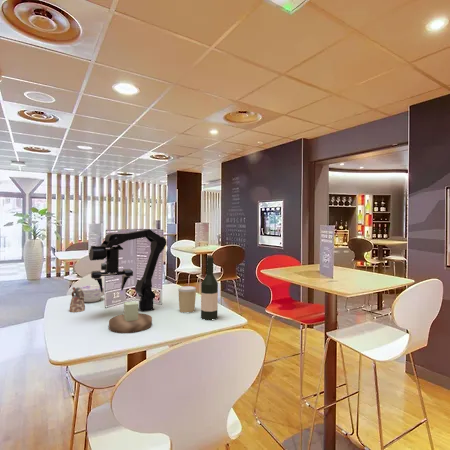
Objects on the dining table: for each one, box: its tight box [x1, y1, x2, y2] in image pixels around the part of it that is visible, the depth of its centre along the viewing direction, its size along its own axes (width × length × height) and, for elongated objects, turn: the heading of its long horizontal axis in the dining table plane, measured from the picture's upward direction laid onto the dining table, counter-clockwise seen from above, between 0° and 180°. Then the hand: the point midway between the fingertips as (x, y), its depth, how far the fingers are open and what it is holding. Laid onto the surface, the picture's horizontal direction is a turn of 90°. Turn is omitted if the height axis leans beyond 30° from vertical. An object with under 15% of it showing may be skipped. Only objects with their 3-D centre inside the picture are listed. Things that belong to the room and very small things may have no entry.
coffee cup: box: [177, 285, 197, 313], centre depth 158 cm, size 9×9×12 cm
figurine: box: [69, 286, 86, 313], centre depth 156 cm, size 7×7×12 cm
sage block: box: [123, 301, 139, 321], centre depth 133 cm, size 5×5×7 cm
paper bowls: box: [79, 284, 105, 303], centre depth 177 cm, size 15×15×8 cm
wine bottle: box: [200, 255, 219, 321], centre depth 147 cm, size 8×8×30 cm
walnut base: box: [108, 312, 153, 334], centre depth 133 cm, size 18×18×3 cm
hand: (112, 291), depth 147 cm, fingers open, 9 cm apart
